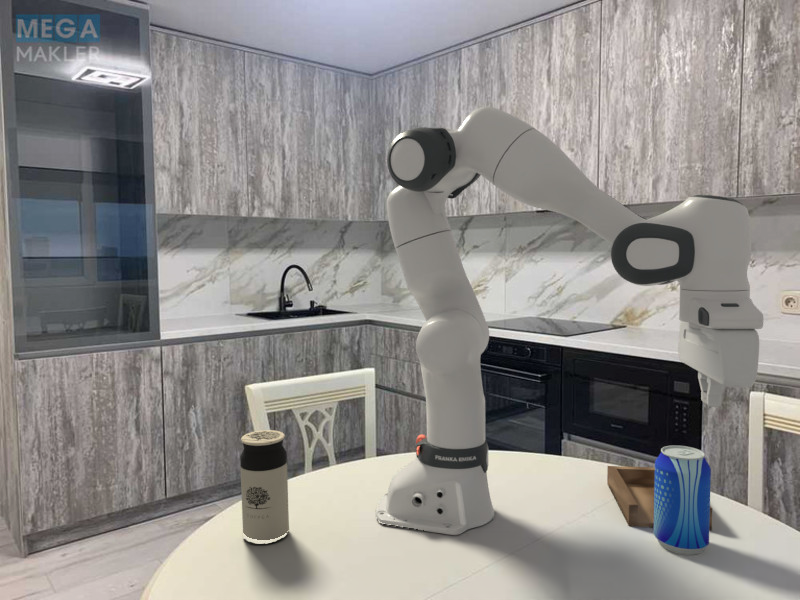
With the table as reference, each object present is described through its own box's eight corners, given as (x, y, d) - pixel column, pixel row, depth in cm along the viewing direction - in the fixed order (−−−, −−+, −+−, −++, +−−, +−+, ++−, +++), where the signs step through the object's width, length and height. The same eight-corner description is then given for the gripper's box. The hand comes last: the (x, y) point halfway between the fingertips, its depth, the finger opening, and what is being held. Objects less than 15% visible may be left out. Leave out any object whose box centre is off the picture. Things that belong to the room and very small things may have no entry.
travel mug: (261, 522, 110) (257, 427, 109) (297, 529, 107) (294, 432, 106) (233, 541, 103) (229, 440, 102) (272, 549, 100) (268, 445, 99)
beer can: (715, 559, 95) (718, 461, 93) (659, 555, 96) (661, 459, 95) (700, 534, 103) (702, 444, 102) (648, 531, 104) (650, 442, 103)
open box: (628, 526, 106) (629, 504, 106) (607, 484, 126) (607, 465, 125) (711, 530, 104) (712, 508, 104) (677, 487, 124) (677, 468, 123)
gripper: (668, 303, 95) (666, 388, 96) (716, 317, 75) (713, 424, 76) (710, 303, 94) (708, 388, 95) (770, 317, 74) (766, 425, 75)
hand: (711, 404), depth 86 cm, fingers closed
